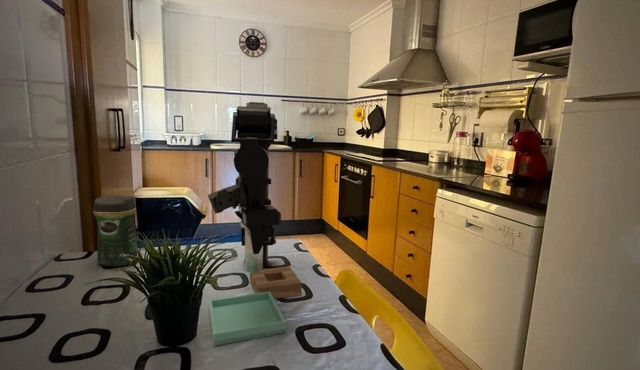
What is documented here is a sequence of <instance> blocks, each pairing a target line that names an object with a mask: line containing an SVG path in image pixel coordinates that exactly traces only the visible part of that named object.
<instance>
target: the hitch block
mask: <svg viewBox="0 0 640 370" xmlns="http://www.w3.org/2000/svg"><path fill="white" fill-rule="evenodd" d="M249 280H250V281H249V283H250V286H251V287H252V290H253V294H255V293H262V292H269V291H270V292H271V294H272V296H273V298H274V300H276V299H283V298H289V297H296V296H301V295H302V281H301V280H300V279H299V277H298V276H297V275H296V273H295V272H294V271H293V269H292V268H291V266H283V267H282V266H281V267H275V268H274V267H273V268H265V269H264V268H263V270H262V271H260V272H255V273H251V272H249Z"/></svg>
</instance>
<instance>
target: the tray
mask: <svg viewBox="0 0 640 370" xmlns="http://www.w3.org/2000/svg"><path fill="white" fill-rule="evenodd" d="M207 302H208V303H207V304H208V315H209V321H210V322H209V323H210V328H211V329H210V330H211V335H212V336H211V337H212V343H213V344H212V345H213V347H215V346H220V345H226V344H227V345H228V344H231V343H238V342H243V341H247V340H254V339H258V338H259V339H260V338H264V337H269V336H274V335H281V334H285V333H286V332H287V321H286V319H285V317H284V315H283V313H282V312H281V310H280V308H279V306H278V304H277V301H276V299H274V298H273V296H272V294H271V292H270V291H269V292H262V293H250V294H249V293H248V294H242V295H235V296H234V295H233V296H228V297H219V298H214V299H213V298H212V299H208V301H207Z"/></svg>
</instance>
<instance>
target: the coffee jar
mask: <svg viewBox="0 0 640 370" xmlns="http://www.w3.org/2000/svg"><path fill="white" fill-rule="evenodd" d="M136 212H137V207H136V200H135V198H134V197H133V196H131V195H127V196H126V195H103V196H99V197H97V198H95V200H94V203H93V215H94V217H95V220H96V224H97V249H96V250H97V253H96V254H97V255H96V256H97V257H96V258H97V263H98V265H100V266H106V267H108V266H112V267H114V266H116V267H117V266H126V265H129V264H131V263H130V262H129V261H128V260H126V259H125V258H123V257H121V256H120V254H129V255H133V256H137V251H136V248H137V247H138V248H139V246H138V240H137V236H136V229H135V228H136V227H135V214H136Z"/></svg>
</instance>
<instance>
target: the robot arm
mask: <svg viewBox="0 0 640 370" xmlns="http://www.w3.org/2000/svg"><path fill="white" fill-rule="evenodd" d="M231 125H232V126H231V137H230V139H231V141H230V143H239V148H238V149H237V151H236V152H235V154H234V157H233V165H234V169H235V170H236V172H237V173H238V176H236V178H235V184H233V185H230V186H226V187H224V188H221V189H218V190H216V191H214V192H211V193H209V194H207V197H208V200H209V203H210V204H211V207H212V210H213V212H214V214H220V213H223V212H224V210H227V209H230V208H232V210H235V211H234V214H235V215H236V216H237V218H239V219H240V223H241V222H242V223H243V225H244V226H246V227H247V228H248V229H249V233H250V239H251V245H252V250H253V254H259V252H260V250H261V248H262V246H263V269H264V268H265V269H266V268H271V267H272V263H271V262H270V261H269V259H268V258H269V246H274V244H276V227H275V226H278V225H281V224H282V213H281V212H280V210H278V209H277V208H276V207H274V206H273V205H272V200H271V199H270V197H269V192H270V191H269V185H272V178H270V171H269V170H270V168H269V167H270V165H269V163H270V162H269V161H270V149H269V148H270V147H271V146H272V144H275V140H278V119H277V118H276V114H275V113H271V108H270V107H268V103H266V102H258V101H257V102H255V101H249V102H246V105H245V106H237V107H236V111H233V113H232V124H231ZM237 207H238V210H237ZM241 220H242V221H241ZM240 227H241V226H240ZM240 231H241V233H240V236H241V247H245V228H242V227H241V229H240ZM243 260H244V261H243V262H244V263H245V259H243Z"/></svg>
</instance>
